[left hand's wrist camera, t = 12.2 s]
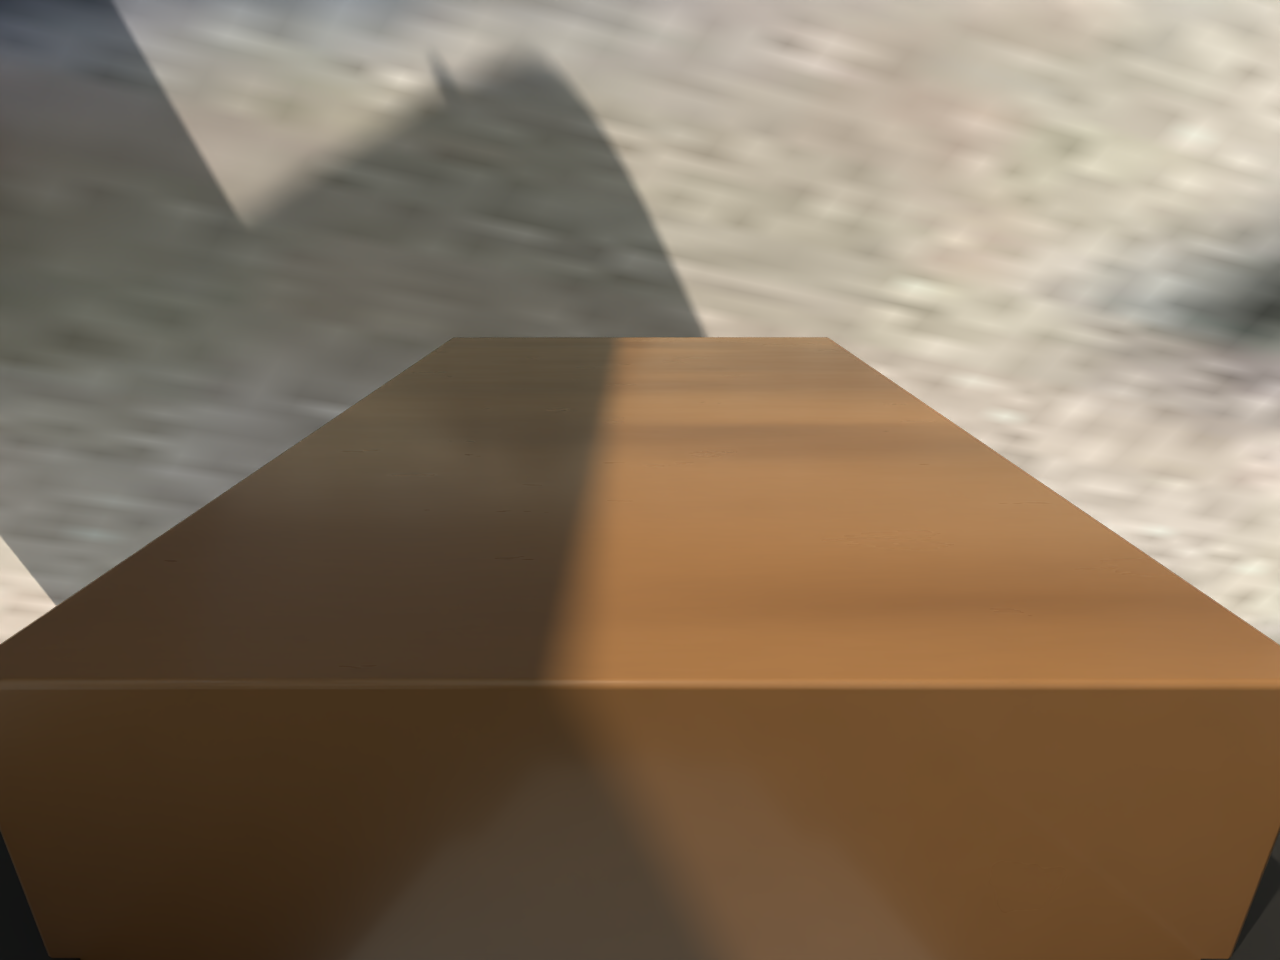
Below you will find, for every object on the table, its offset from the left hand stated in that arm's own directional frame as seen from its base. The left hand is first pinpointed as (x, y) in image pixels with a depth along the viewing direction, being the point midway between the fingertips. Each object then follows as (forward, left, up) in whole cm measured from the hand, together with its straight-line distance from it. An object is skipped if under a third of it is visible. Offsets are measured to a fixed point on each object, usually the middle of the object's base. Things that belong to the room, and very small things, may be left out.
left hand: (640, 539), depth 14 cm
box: (+2, -7, -3) cm, 8 cm away
